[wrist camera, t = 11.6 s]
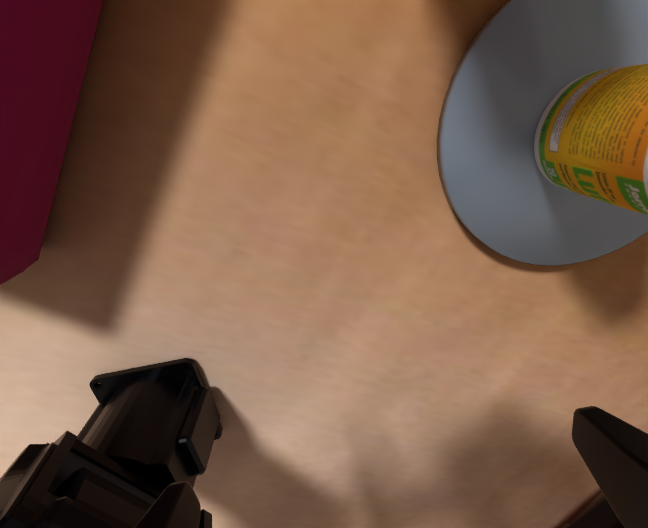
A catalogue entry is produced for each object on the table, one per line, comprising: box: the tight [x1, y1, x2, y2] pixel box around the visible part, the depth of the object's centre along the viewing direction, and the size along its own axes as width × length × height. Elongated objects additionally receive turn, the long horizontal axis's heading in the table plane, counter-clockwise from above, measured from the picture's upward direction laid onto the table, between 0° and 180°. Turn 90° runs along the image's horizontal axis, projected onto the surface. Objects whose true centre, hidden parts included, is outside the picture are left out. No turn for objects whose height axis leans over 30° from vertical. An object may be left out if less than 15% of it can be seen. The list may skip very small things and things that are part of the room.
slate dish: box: [437, 0, 648, 265], centre depth 18 cm, size 14×14×1 cm
